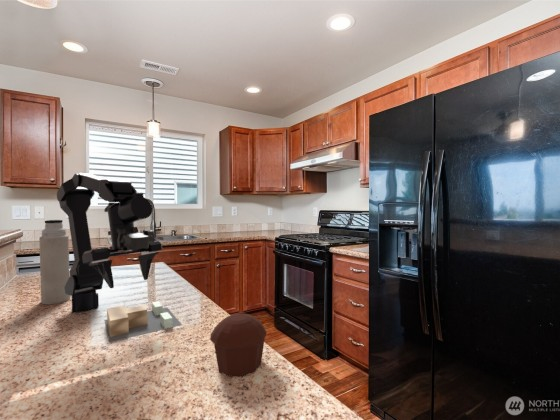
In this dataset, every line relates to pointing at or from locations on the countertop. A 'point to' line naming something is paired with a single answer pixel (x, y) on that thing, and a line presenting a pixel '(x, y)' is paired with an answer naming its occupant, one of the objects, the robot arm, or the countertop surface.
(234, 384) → the countertop surface
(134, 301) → the countertop surface
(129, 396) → the countertop surface
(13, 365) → the countertop surface
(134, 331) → the mat
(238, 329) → the muffin
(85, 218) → the robot arm
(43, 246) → the thermos bottle
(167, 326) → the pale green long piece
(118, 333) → the tee block
